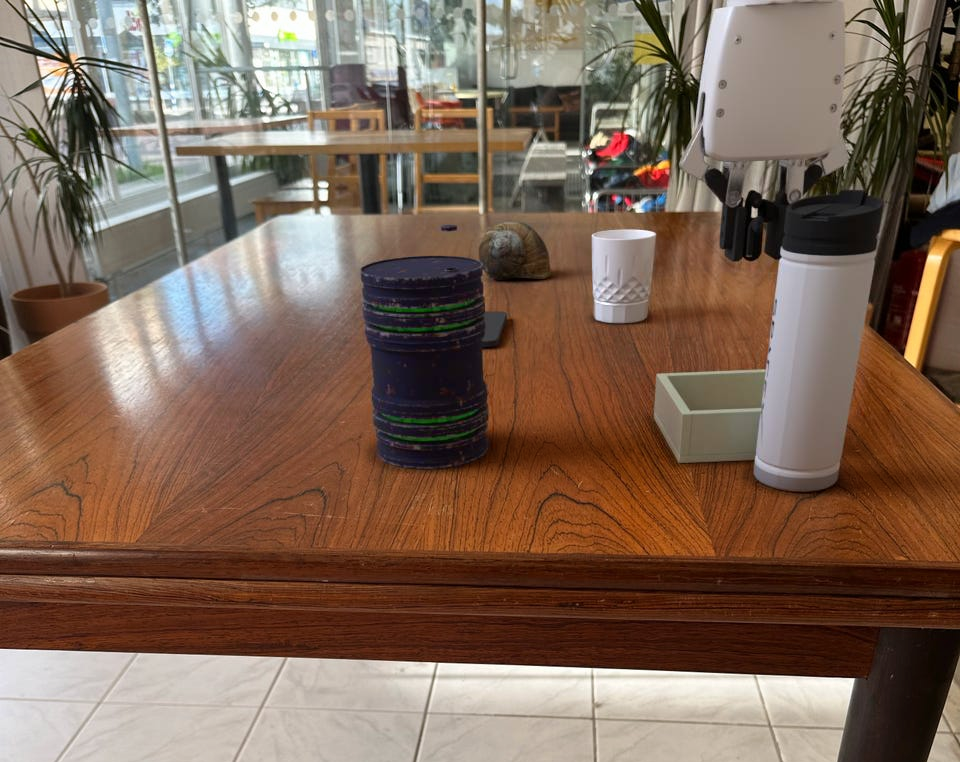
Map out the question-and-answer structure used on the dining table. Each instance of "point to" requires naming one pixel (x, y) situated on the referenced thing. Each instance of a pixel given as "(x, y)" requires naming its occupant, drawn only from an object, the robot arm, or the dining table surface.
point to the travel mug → (816, 338)
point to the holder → (710, 414)
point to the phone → (493, 327)
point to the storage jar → (427, 359)
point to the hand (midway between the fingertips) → (753, 255)
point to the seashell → (514, 252)
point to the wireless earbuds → (756, 224)
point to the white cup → (622, 274)
